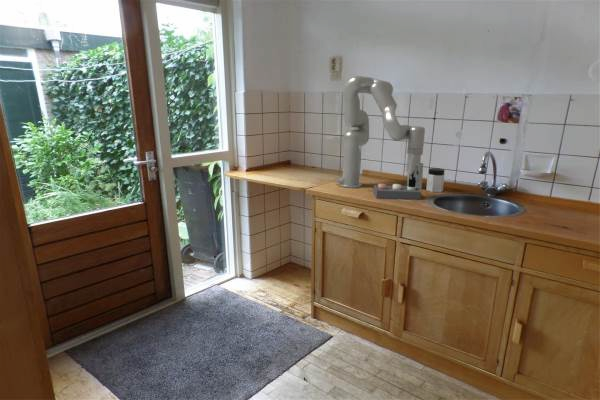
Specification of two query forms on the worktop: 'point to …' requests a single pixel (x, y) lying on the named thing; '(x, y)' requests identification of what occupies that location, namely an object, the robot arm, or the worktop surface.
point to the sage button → (411, 188)
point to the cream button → (396, 187)
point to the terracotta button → (382, 186)
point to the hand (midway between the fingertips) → (411, 186)
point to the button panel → (396, 193)
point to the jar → (435, 180)
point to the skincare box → (418, 178)
